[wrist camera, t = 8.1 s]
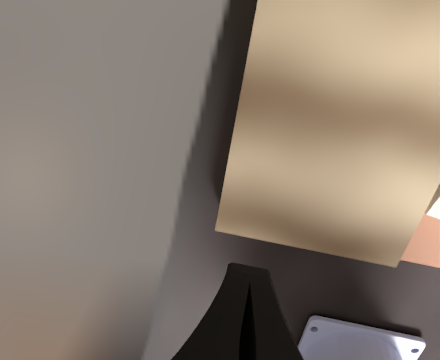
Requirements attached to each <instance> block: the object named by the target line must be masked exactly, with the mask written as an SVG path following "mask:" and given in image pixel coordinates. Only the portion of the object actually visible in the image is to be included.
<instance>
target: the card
mask: <svg viewBox="0 0 440 360" xmlns="http://www.w3.org/2000/svg"><path fill="white" fill-rule="evenodd" d="M425 214H426V215H429V216H432V217H434V218H437V219H440V184H439V186H438V188H437V190H436V192H435V194H434V196H433V198H432V199H431V201H430V203H429V205H428V207H427V209H426V211H425Z"/></svg>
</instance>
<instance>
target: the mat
mask: <svg viewBox="0 0 440 360" xmlns="http://www.w3.org/2000/svg"><path fill="white" fill-rule="evenodd" d="M400 260H404V261H409V262H414V263H418V264H423V265H428V266H433V267H438V268H440V219H437V218H434V217H432V216H429V215H426V214H425V213H424V215H423V217H422V219H421V221H420V223H419V225H418V226H417V228H416V230H415V232H414V234H413V236H412V238H411V240H410V242H409V244H408V246H407V248H406V250H405V252H404V253H403V255H402V257H401V259H400Z"/></svg>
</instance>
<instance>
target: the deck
mask: <svg viewBox="0 0 440 360" xmlns="http://www.w3.org/2000/svg"><path fill="white" fill-rule="evenodd" d="M439 184H440V0H258V2H257V7H256V13H255V18H254V23H253V29H252V34H251V39H250V45H249V50H248V55H247V61H246V66H245V72H244V77H243V82H242V88H241V93H240V98H239V104H238V109H237V114H236V120H235V125H234V131H233V136H232V141H231V147H230V152H229V157H228V163H227V168H226V173H225V179H224V184H223V189H222V195H221V200H220V206H219V211H218V216H217V222H216V227H215V231H219V232H224V233H229V234H234V235H239V236H243V237H248V238H253V239H258V240H263V241H268V242H273V243H278V244H283V245H288V246H293V247H297V248H302V249H307V250H312V251H317V252H322V253H327V254H332V255H337V256H342V257H347V258H352V259H356V260H361V261H366V262H371V263H376V264H381V265H386V266H391V267H397V265H398V263H399V261H400V259H401V257H402V255H403V253H404V252H405V250H406V248H407V246H408V244H409V242H410V240H411V238H412V236H413V234H414V232H415V230H416V228H417V226H418V225H419V223H420V221H421V219H422V217H423V215H424V213H425V211H426V209H427V207H428V205H429V203H430V201H431V199H432V198H433V196H434V194H435V192H436V190H437V188H438V186H439Z"/></svg>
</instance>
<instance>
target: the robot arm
mask: <svg viewBox="0 0 440 360" xmlns="http://www.w3.org/2000/svg"><path fill="white" fill-rule="evenodd" d="M313 327H315V328H313ZM425 346H426V344H425V342H424V339H422V338H421V337H417V336H412V335H407V334H403V333H398V332H393V331H388V330H384V329H379V328H374V327H369V326H364V325H360V324H355V323H350V322H345V321H341V320H336V319H331V318H326V317H321V316H312V317H310V318H309V320H308V322H307V325H306V327H305V330H304V332H303V335H302V337H301V340H300V342H299V345H298V347H297V345H296V343H295V341H294V338H293V336H292V334H291V332H290V329H289V327H288V325H287V322H286V320H285V317H284V315H283V312H282V310H281V307H280V305H279V302H278V299H277V296H276V293H275V290H274V287H273V283H272V279H271V275H270V272H269V271H268V270H266V269H261V268H256V267H252V266H247V265H242V264H237V263H230V264H228V267H227V272H226V275H225V278H224V280H223V282H222V285H221V287H220V289H219V291H218V293H217V295H216V296H215V298H214V300H213V302H212V304H211V306H210V307H209V309H208V310H207V312H206V314H205V315H204V317H203V318H202V320H201V321H200V323H199V324H198V326H197V327H196V329H195V330H194V331H193V333H192V334H191V336H190V337H189V338H188V340H187V341H186V342H185V343H184V345H183V346H182V347H181V349H180V350H179V351H178V352H177V353H176V355H175V356H174V357H173V358H172V359H171V360H417V359H418V357H419V356H420V354H421V353H422V351H423V350H424V348H425Z"/></svg>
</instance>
